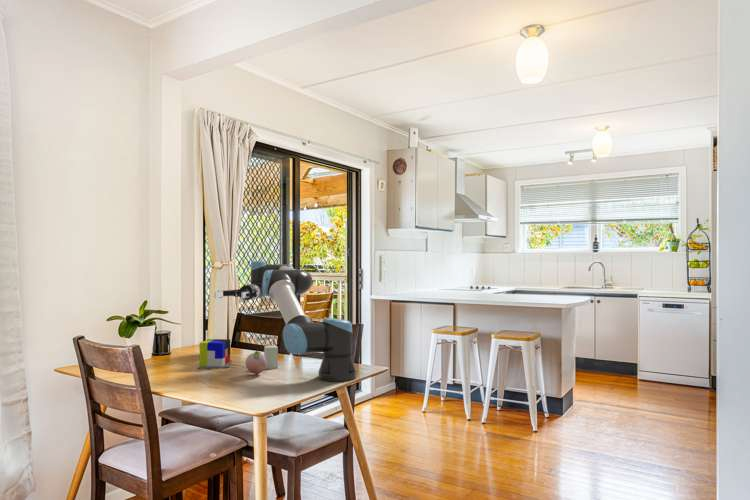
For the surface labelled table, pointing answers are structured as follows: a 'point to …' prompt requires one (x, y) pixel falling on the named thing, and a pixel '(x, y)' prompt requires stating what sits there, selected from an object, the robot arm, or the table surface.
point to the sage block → (271, 356)
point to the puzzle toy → (215, 352)
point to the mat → (215, 366)
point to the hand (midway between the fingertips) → (228, 295)
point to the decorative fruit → (256, 362)
